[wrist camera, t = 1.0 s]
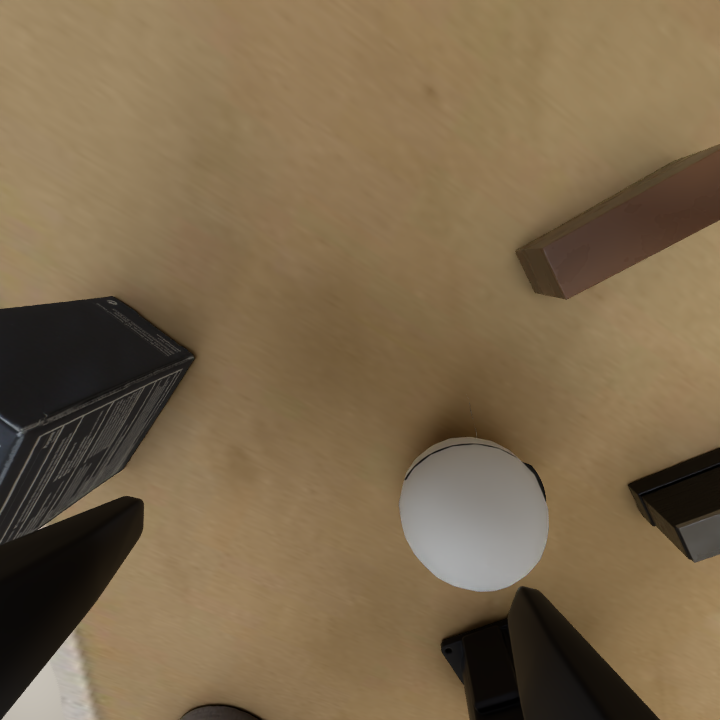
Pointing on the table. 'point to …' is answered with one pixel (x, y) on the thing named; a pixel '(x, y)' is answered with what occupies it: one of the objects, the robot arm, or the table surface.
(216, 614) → the table surface
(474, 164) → the table surface
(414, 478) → the seamed sphere
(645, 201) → the brown rectangular block
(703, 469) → the stapler
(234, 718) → the pillar candle
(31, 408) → the small box
